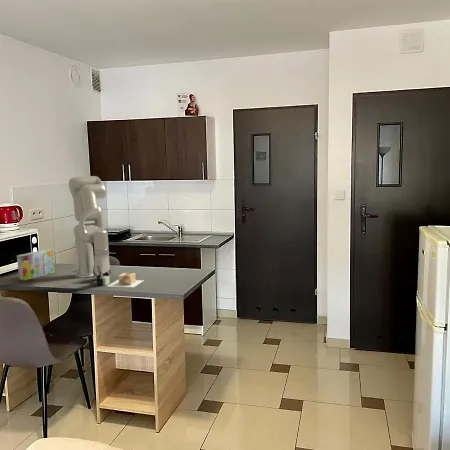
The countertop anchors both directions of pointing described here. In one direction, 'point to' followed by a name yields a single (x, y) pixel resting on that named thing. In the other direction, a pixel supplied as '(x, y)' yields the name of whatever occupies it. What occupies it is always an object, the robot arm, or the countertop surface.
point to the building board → (116, 284)
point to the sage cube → (106, 280)
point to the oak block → (127, 278)
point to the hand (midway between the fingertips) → (103, 283)
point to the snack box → (35, 264)
